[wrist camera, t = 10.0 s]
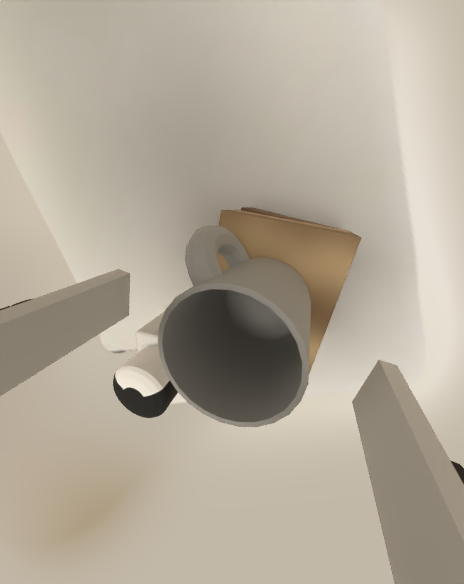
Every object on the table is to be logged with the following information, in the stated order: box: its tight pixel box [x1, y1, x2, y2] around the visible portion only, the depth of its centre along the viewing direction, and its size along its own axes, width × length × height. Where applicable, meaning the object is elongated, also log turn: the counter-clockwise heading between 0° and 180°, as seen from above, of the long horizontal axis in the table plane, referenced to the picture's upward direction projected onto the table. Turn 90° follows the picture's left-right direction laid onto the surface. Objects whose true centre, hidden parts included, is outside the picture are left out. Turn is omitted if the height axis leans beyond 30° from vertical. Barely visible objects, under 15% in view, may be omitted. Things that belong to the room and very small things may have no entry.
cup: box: [158, 226, 311, 427], centre depth 14 cm, size 7×10×9 cm
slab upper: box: [217, 210, 361, 373], centre depth 21 cm, size 12×10×5 cm
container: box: [113, 311, 179, 418], centre depth 29 cm, size 8×8×13 cm
